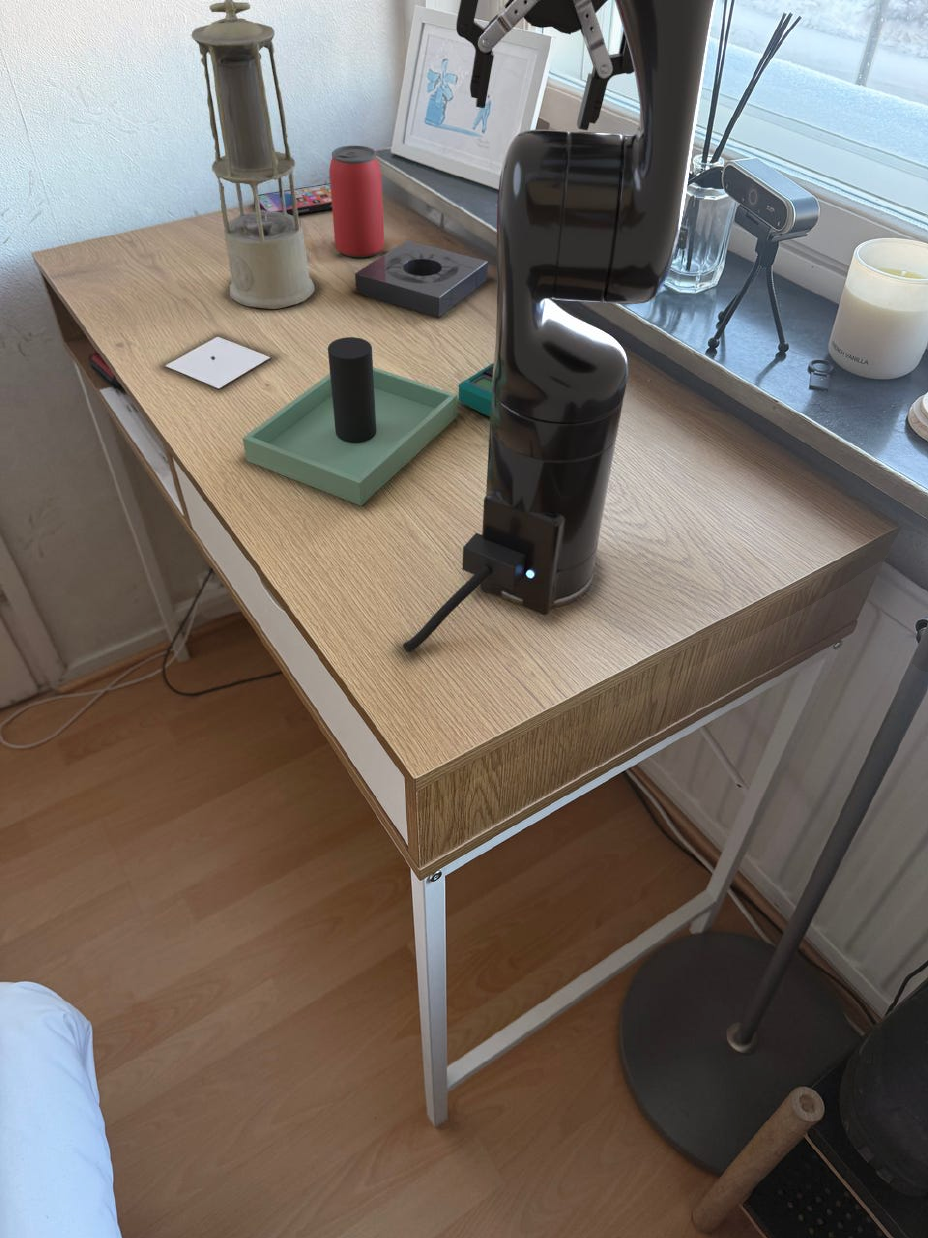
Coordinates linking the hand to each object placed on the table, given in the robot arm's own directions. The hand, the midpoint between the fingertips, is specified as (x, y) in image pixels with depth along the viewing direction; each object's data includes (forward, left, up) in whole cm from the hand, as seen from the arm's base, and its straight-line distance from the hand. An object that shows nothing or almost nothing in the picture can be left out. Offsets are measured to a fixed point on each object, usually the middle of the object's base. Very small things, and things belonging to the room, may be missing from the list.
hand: (531, 116), depth 71 cm
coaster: (-9, +32, -27) cm, 43 cm away
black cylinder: (-13, +11, -27) cm, 31 cm away
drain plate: (+19, +23, -27) cm, 40 cm away
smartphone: (+33, +51, -27) cm, 67 cm away
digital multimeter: (+4, +1, -27) cm, 28 cm away
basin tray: (-13, +11, -27) cm, 32 cm away
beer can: (+24, +36, -27) cm, 51 cm away
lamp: (+9, +39, -27) cm, 48 cm away
